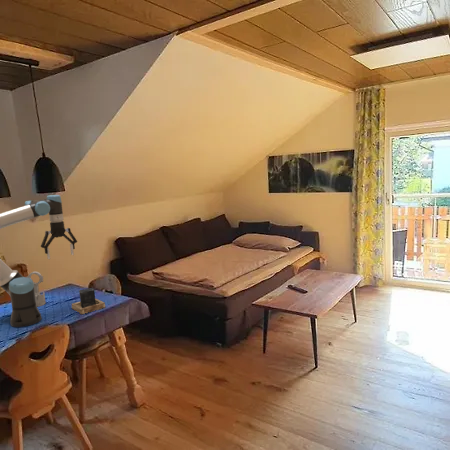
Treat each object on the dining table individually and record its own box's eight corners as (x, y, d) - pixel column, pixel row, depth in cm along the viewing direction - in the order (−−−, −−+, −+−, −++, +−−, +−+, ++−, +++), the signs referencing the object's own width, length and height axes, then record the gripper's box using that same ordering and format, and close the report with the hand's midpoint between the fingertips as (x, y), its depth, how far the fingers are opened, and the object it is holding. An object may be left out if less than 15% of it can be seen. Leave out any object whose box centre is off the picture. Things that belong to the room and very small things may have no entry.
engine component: (32, 302, 251) (24, 307, 241) (27, 270, 248) (20, 274, 238) (49, 301, 251) (43, 306, 241) (45, 269, 248) (38, 273, 238)
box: (94, 304, 238) (92, 287, 237) (96, 307, 233) (94, 289, 232) (80, 307, 235) (78, 289, 233) (82, 310, 230) (80, 292, 228)
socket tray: (81, 314, 224) (81, 309, 224) (72, 308, 234) (71, 303, 234) (105, 307, 233) (104, 302, 233) (94, 302, 244) (94, 297, 243)
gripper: (35, 224, 225) (40, 261, 228) (80, 219, 240) (84, 253, 243) (32, 223, 230) (36, 259, 234) (76, 218, 246) (79, 252, 249)
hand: (60, 256), depth 238 cm, fingers open, 13 cm apart
